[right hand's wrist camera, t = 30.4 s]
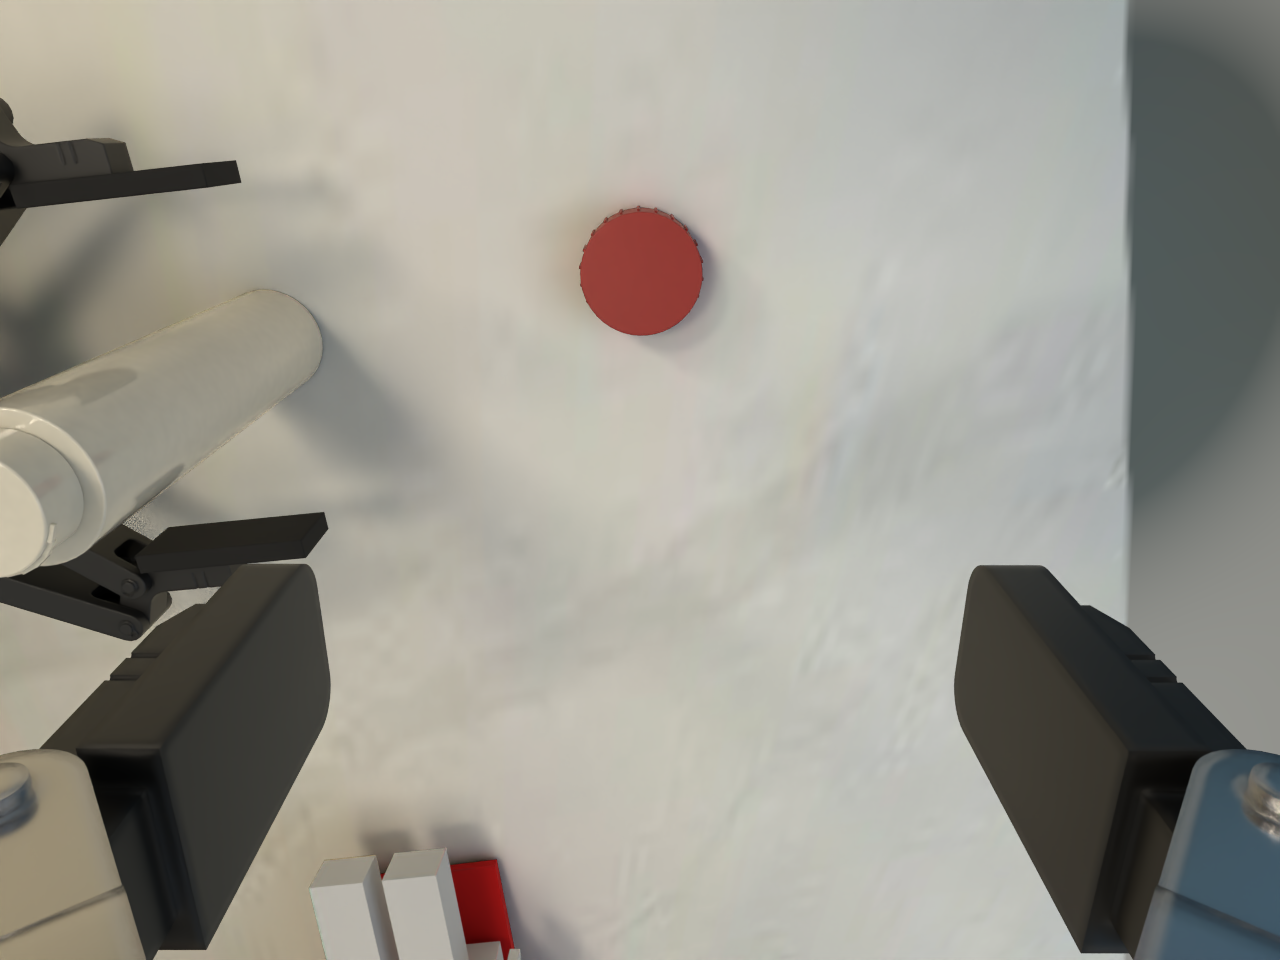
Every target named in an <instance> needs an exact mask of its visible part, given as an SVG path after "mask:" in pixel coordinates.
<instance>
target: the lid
mask: <svg viewBox="0 0 1280 960" xmlns="http://www.w3.org/2000/svg"><path fill="white" fill-rule="evenodd" d="M696 246H698V244H697V242H696V240H695V239H694V240H693V239H692V237H691V235H690V233H689V232H688V229H687V226H686V225H684V226H683V225H682V224H681V223H680V222H679V221H677V220H676V219H675V218H674V216H673V215H672V214H671V215H668V214H666V213H664V212H661V211H659V210H657V208H654V209H650V208H640V206H637V208H633V209H628V210H624V211H623V209H621V210H620V212H619V213H617V214H615V215H613V216H611V217H610V218H607V217H606V218H605V219H604V222H603V223H602V224H601V225H600V226H599V227H598V228H597V229H596V230H593V231H592V234H591V238H590V240H589V242H588V244H587V245H585V246H584V249H583V252H584V254H583V257H582V262H581V264H580V266H579V269H581V271H580V276H581V284H580V286H581V287H582V290H583V293H584V296H585V298H586V302H587V303H588V305H589V306H590V308H591V309H592V311H593V312H594V313H595V314H596V316H597V317H598V318H599V319H601V320H602V321H603V322H604V323H605V324H607V325H608V326H610V327H611V328H613V329H615V330H617V331H620V332H623V333H626V334H630V335H639V336H641V335H652V334H657V333H660V332H663V331H665V330H668V329H670V328H671V327H673V326H675V325H676V324H678V323H679V322H680V321H681V320H682V319H683V318H684V317H685V316H686V315H687V314H688V313H689V312H690V310H691V309H692V308H693V306H694V304H695V302H696V300H697V298H698V297H699V293H700V289H701V285H702V281H703V276H702V263H703V260H702V258H701V256H700V255H699V252H698V249H697V247H696Z"/></svg>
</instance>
